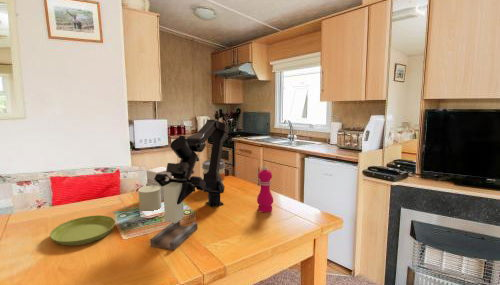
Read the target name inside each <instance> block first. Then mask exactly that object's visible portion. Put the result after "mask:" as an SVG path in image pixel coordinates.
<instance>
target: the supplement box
mask: <svg viewBox="0 0 500 285" xmlns="http://www.w3.org/2000/svg"><path fill="white" fill-rule="evenodd" d="M166 169H167V167H165V166H159V167H154V168H150V169H146V171H145V172H146V182H147V186H159V187H160V188H161V189H160V190H161V202H163V201H164V186H160V185H159V184H158V183H157V182H156V181H155V180H154V178H155V176H156V174H158V173H161V174H167V175H168V176H169V177H170V178H173V176H171V173H170V172H166Z"/></svg>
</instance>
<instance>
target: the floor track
mask: <svg viewBox="0 0 500 285" xmlns="http://www.w3.org/2000/svg"><path fill="white" fill-rule="evenodd" d="M198 228H199V227H198V222H197V221H196V222H195V221H193V222H192V223H191V224H189V225H183V224H181V220H180V221H179V222H177V223H171V222H170V224H169V225H167V226H166V227H165V228H163V229H162V230H161V231H159V232H158V233H157V234H156V235H154V236H153V237H151V238H150V241H149V242H150V247H152V248H158V249H163V250H168V251H175V250H177V249H178V248H179V247H180V246H181V245H182V244H183V243H184V242H186V240H187V239H188V238H189V237H191V236H192V235H194V233H195V232H196V231H197V230H198Z"/></svg>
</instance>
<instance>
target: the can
mask: <svg viewBox="0 0 500 285" xmlns="http://www.w3.org/2000/svg"><path fill="white" fill-rule="evenodd" d="M160 189H161V188H160V187H159V186H148V185H147V186H142V187H140V188H138V190H137V194H138V202H139V205H138V206H139V212H140V211H154V210H158V209H160V208H161V207H162V201H161V190H160Z"/></svg>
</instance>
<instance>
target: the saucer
mask: <svg viewBox="0 0 500 285" xmlns="http://www.w3.org/2000/svg"><path fill="white" fill-rule="evenodd" d="M115 225H116V220H115V219H114V217H111V216H108V215H99V214H98V215H88V216H83V217H82V216H81V217H78V218H75V219H71V220H68V221H66V222H63V223H61V224H59V225H58V226H56V227H54V228H53V229H52V230H51V232H50V233H49V238H51V240H53V241H54V242H56V243H58V244H60V245H63V246H68V247H70V246H71V247H72V246H73V247H75V246H83V245H86V244H91V243H93V242H96V241H98V240H101V239H102V238H104V237H106V236H107V235H108V234H109V233H111V231H112V230H113V228H114V227H115Z"/></svg>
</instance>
